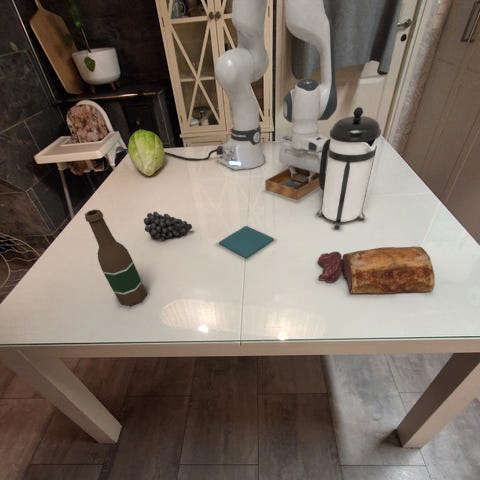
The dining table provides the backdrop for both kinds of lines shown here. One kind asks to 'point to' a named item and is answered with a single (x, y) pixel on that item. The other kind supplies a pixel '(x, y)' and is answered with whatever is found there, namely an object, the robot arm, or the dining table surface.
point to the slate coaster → (292, 184)
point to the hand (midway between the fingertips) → (301, 179)
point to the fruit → (165, 226)
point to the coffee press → (347, 166)
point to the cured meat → (381, 270)
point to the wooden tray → (276, 187)
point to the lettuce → (146, 151)
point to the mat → (246, 241)
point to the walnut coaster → (300, 179)
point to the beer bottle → (116, 262)
